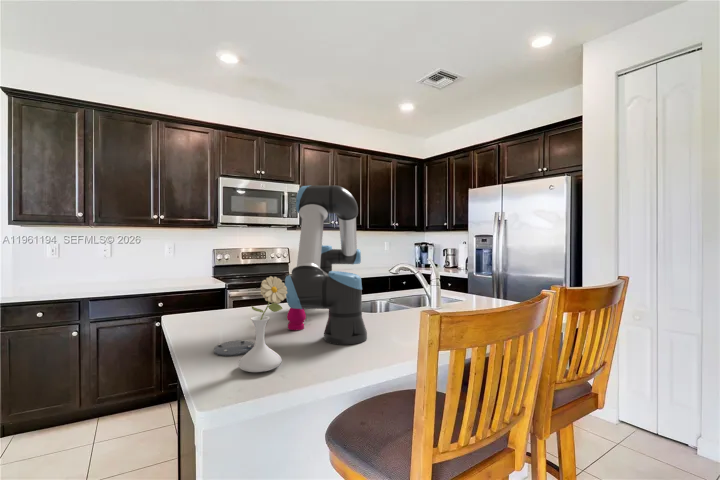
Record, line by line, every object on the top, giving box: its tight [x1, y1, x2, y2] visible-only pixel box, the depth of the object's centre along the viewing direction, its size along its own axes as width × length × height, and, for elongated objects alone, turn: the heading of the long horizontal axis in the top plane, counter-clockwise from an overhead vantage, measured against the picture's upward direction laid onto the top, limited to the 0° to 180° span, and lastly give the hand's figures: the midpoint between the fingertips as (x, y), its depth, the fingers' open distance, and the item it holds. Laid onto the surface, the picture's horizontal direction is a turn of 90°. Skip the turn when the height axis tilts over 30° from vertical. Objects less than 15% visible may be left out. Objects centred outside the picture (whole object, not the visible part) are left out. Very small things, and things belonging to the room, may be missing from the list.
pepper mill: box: [286, 307, 307, 331], centre depth 138 cm, size 7×7×20 cm
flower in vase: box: [237, 275, 287, 373], centre depth 97 cm, size 13×11×25 cm
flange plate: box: [213, 339, 255, 357], centre depth 113 cm, size 12×12×2 cm
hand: (304, 285), depth 148 cm, fingers open, 13 cm apart
